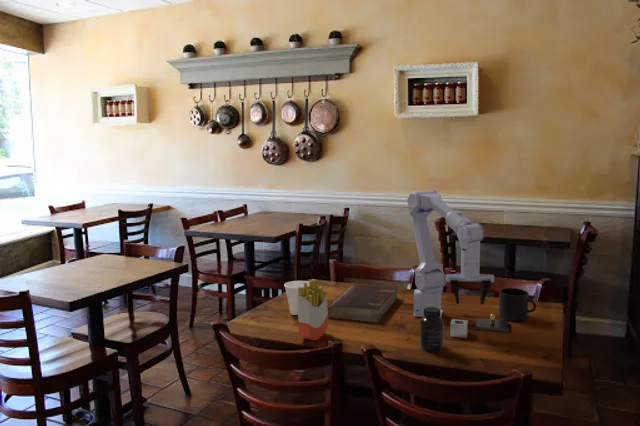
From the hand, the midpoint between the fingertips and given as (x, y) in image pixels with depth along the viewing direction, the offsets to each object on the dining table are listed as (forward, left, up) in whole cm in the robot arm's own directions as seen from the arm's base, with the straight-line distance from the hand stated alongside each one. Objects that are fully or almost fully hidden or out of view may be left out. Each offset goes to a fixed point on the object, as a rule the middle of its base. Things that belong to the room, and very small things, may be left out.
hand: (469, 303), depth 167 cm
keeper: (+7, +7, -10) cm, 14 cm away
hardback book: (-39, +16, -10) cm, 43 cm away
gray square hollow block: (-3, -3, -10) cm, 10 cm away
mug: (+15, +18, -10) cm, 25 cm away
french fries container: (-47, -17, -10) cm, 51 cm away
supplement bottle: (-10, -16, -10) cm, 21 cm away
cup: (-60, +3, -10) cm, 61 cm away
